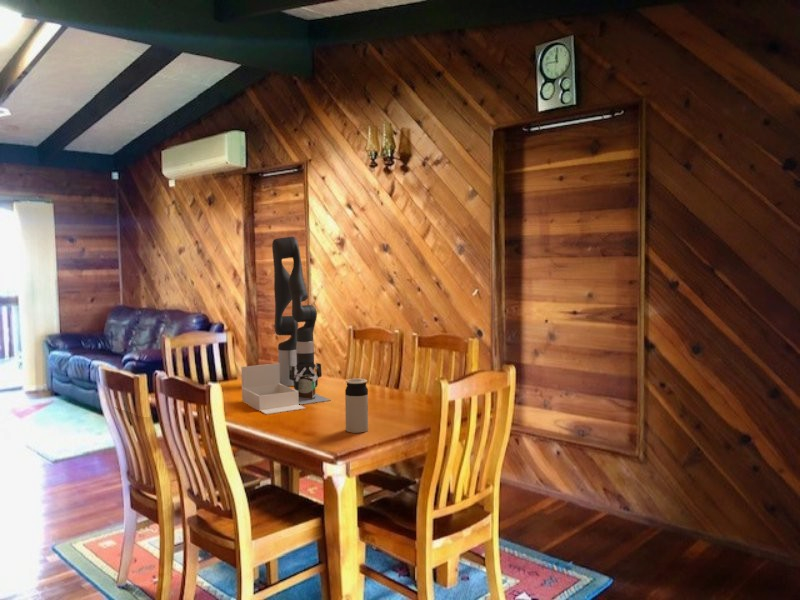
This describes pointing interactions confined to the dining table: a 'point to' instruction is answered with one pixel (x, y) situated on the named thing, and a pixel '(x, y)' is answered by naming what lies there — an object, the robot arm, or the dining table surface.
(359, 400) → the travel mug
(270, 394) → the carton
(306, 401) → the slate mat
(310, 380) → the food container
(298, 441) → the dining table surface
